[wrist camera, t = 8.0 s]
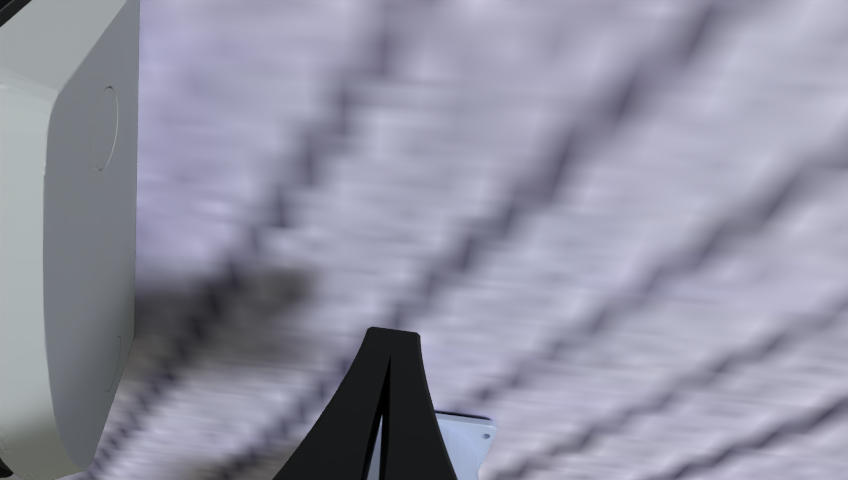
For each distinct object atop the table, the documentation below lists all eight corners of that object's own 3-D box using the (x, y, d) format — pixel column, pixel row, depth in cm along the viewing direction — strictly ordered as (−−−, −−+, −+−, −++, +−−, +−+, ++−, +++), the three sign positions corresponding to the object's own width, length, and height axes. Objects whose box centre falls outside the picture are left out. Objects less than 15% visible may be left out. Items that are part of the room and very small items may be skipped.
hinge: (-72, -125, 10) (-946, -131, 3) (153, -37, 12) (-19, 84, 5) (22, 309, 19) (-132, 571, 12) (142, 315, 21) (74, 538, 14)
